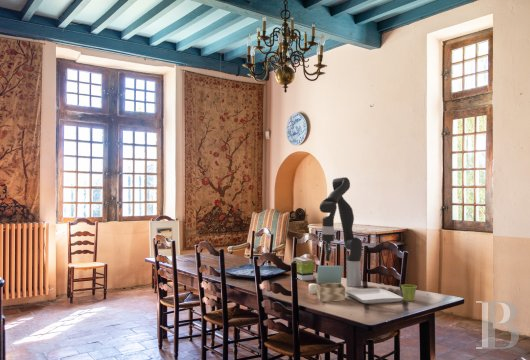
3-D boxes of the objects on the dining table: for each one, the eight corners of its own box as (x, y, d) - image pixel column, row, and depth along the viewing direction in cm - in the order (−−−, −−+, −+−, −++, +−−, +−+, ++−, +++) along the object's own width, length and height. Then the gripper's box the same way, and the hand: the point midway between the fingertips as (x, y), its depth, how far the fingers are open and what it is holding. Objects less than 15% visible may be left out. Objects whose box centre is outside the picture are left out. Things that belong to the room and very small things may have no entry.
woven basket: (340, 296, 289) (340, 283, 289) (345, 301, 276) (345, 287, 276) (316, 296, 288) (316, 283, 288) (319, 301, 275) (319, 287, 275)
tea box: (292, 277, 350) (292, 257, 350) (303, 276, 354) (303, 256, 355) (301, 280, 337) (302, 260, 337) (313, 279, 341) (314, 259, 341)
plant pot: (405, 297, 286) (405, 283, 286) (419, 300, 279) (419, 285, 279) (397, 300, 280) (397, 285, 280) (411, 303, 273) (411, 288, 273)
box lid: (340, 283, 289) (340, 282, 290) (342, 266, 282) (342, 265, 283) (316, 283, 288) (316, 282, 289) (318, 266, 282) (318, 265, 283)
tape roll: (316, 292, 300) (316, 283, 301) (318, 294, 295) (318, 285, 295) (308, 292, 300) (308, 283, 300) (309, 294, 295) (309, 285, 295)
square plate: (362, 306, 266) (362, 299, 266) (342, 295, 292) (342, 289, 292) (404, 303, 273) (404, 296, 273) (380, 293, 299) (380, 287, 300)
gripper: (335, 234, 286) (335, 262, 286) (332, 232, 299) (331, 259, 299) (323, 234, 286) (323, 262, 286) (320, 232, 299) (320, 259, 299)
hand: (327, 261), depth 292 cm, fingers closed
